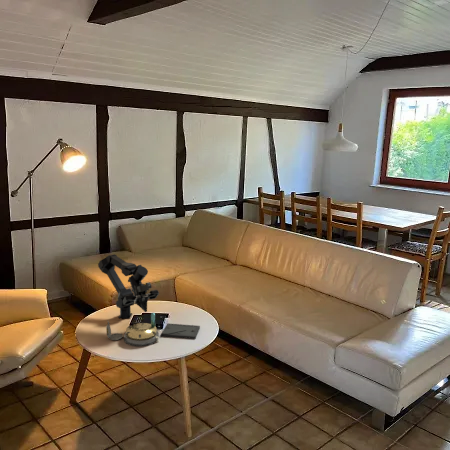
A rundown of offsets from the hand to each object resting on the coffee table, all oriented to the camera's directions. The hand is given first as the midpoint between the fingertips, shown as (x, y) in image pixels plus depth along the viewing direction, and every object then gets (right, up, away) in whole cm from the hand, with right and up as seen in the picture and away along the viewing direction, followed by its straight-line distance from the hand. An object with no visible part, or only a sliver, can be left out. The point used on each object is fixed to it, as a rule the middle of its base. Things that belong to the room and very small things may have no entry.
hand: (146, 311), depth 233 cm
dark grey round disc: (-1, -12, -7) cm, 14 cm away
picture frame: (+18, -12, +1) cm, 21 cm away
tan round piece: (-1, -10, -8) cm, 12 cm away
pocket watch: (-15, -12, -7) cm, 21 cm away
